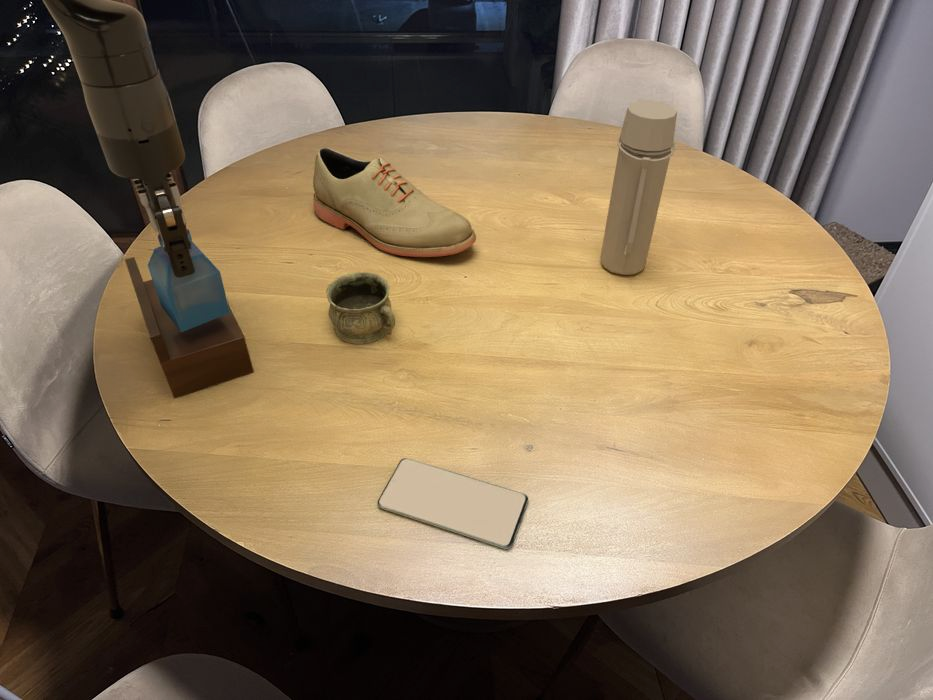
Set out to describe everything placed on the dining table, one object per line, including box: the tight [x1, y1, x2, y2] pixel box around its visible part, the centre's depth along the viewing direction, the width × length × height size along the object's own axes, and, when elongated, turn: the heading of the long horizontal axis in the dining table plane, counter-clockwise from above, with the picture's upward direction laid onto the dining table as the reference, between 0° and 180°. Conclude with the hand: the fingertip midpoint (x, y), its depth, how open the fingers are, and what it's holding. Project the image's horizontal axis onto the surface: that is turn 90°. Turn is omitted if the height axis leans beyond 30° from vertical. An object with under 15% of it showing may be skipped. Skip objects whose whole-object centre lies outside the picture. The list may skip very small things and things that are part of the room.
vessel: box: [325, 271, 396, 345], centre depth 93 cm, size 12×9×6 cm
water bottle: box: [599, 99, 678, 276], centre depth 98 cm, size 9×8×25 cm
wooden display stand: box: [124, 256, 254, 399], centre depth 88 cm, size 18×10×10 cm, turn 29°
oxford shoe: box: [312, 147, 477, 258], centre depth 109 cm, size 11×32×12 cm, turn 61°
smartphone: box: [377, 457, 529, 550], centre depth 72 cm, size 7×1×15 cm
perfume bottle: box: [147, 223, 230, 332], centre depth 80 cm, size 6×6×12 cm
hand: (180, 262), depth 79 cm, fingers closed on perfume bottle, 4 cm apart
